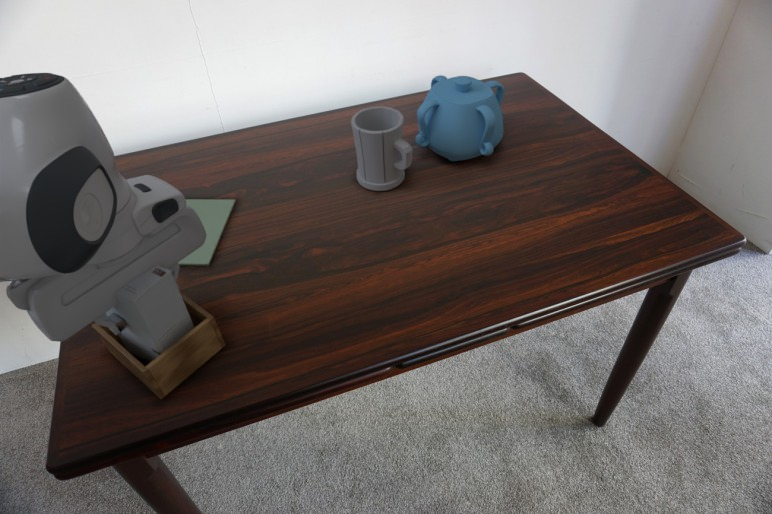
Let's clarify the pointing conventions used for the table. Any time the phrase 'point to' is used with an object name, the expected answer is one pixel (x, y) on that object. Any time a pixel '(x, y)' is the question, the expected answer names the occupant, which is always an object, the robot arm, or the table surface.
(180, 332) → the cosmetic box
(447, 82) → the decorative pot
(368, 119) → the cup
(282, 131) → the table surface
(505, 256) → the table surface
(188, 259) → the mat
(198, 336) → the wooden box
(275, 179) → the table surface
